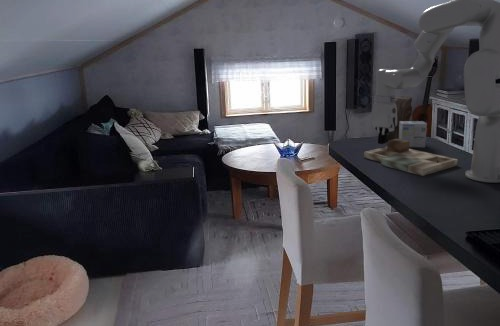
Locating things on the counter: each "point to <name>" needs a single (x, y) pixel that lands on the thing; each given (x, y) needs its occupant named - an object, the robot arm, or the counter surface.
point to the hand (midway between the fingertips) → (381, 143)
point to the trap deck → (411, 160)
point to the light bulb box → (413, 132)
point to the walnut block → (398, 145)
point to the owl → (401, 115)
